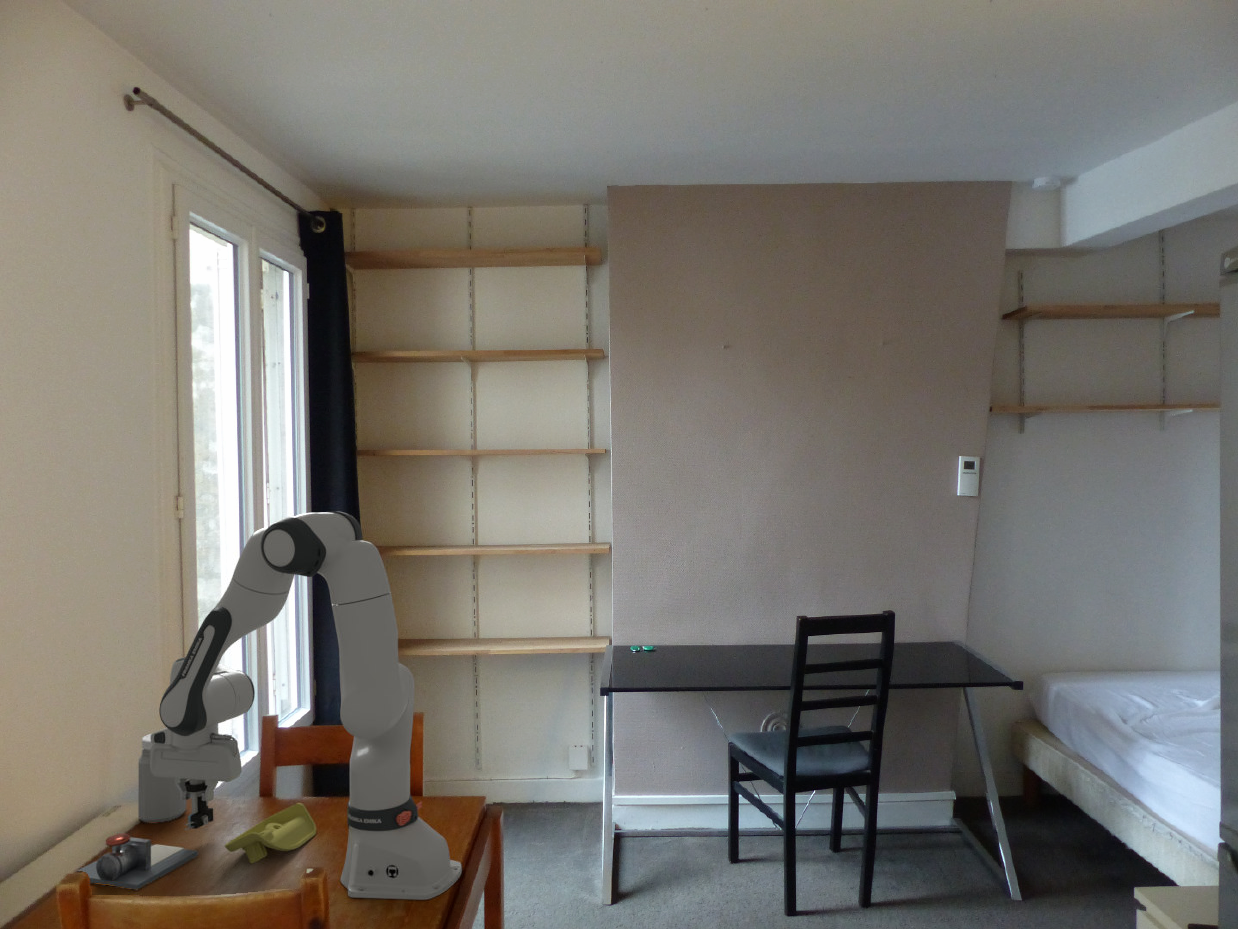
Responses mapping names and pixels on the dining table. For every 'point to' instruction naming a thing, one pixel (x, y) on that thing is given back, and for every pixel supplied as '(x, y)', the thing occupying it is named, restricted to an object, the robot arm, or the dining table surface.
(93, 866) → the board
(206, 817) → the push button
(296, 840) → the plastic component
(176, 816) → the jar
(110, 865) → the fitting
